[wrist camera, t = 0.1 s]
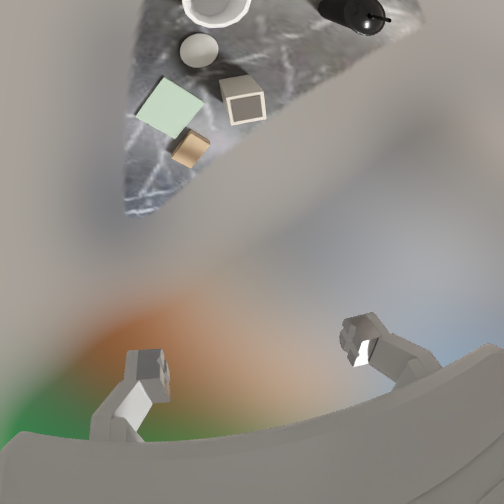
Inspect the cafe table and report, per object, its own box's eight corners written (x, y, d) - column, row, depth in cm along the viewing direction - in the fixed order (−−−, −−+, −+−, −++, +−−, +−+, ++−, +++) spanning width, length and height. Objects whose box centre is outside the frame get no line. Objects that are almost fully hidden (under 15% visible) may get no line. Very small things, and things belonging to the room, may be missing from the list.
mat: (164, 76, 45) (164, 77, 45) (204, 102, 51) (204, 103, 51) (135, 115, 50) (135, 116, 50) (175, 138, 56) (175, 139, 56)
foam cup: (175, 14, 36) (171, 16, 28) (197, -27, 30) (200, -37, 22) (223, 30, 41) (233, 36, 32) (246, -9, 35) (263, -13, 27)
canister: (249, 74, 49) (263, 91, 41) (252, 97, 53) (266, 119, 45) (218, 79, 48) (226, 98, 41) (223, 102, 52) (231, 125, 45)
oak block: (190, 128, 56) (190, 133, 54) (209, 139, 59) (210, 145, 57) (172, 152, 59) (171, 158, 57) (190, 162, 62) (190, 168, 60)
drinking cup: (351, 21, 41) (414, 39, 28) (319, 29, 42) (374, 48, 30) (340, -11, 35) (403, -5, 23) (306, -3, 37) (360, 0, 24)
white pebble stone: (196, 26, 39) (196, 27, 38) (225, 46, 44) (226, 47, 43) (172, 54, 43) (172, 55, 42) (201, 72, 47) (201, 74, 46)
